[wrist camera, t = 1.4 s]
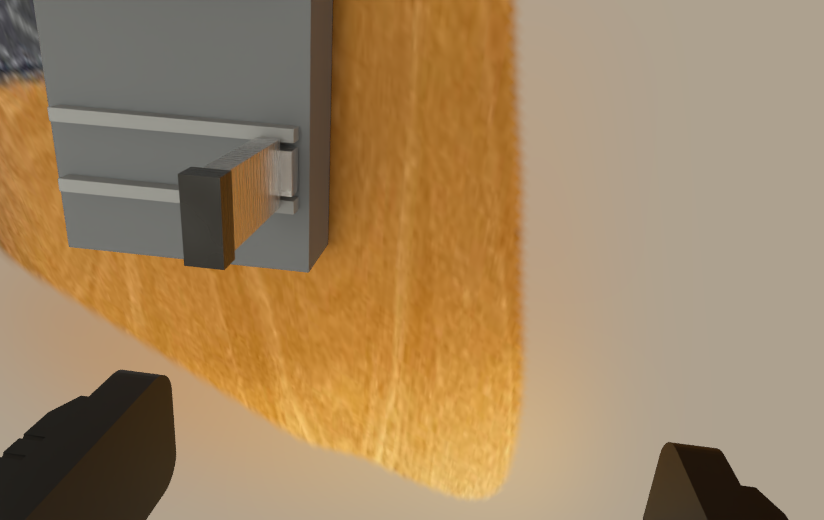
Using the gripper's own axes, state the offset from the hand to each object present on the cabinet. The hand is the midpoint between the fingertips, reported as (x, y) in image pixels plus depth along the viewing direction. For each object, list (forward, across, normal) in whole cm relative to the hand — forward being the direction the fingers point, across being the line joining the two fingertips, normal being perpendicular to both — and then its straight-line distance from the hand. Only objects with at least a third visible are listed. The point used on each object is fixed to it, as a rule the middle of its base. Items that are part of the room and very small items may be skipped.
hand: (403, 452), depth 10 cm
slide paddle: (+19, +8, 0) cm, 20 cm away
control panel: (+23, +13, -5) cm, 26 cm away
